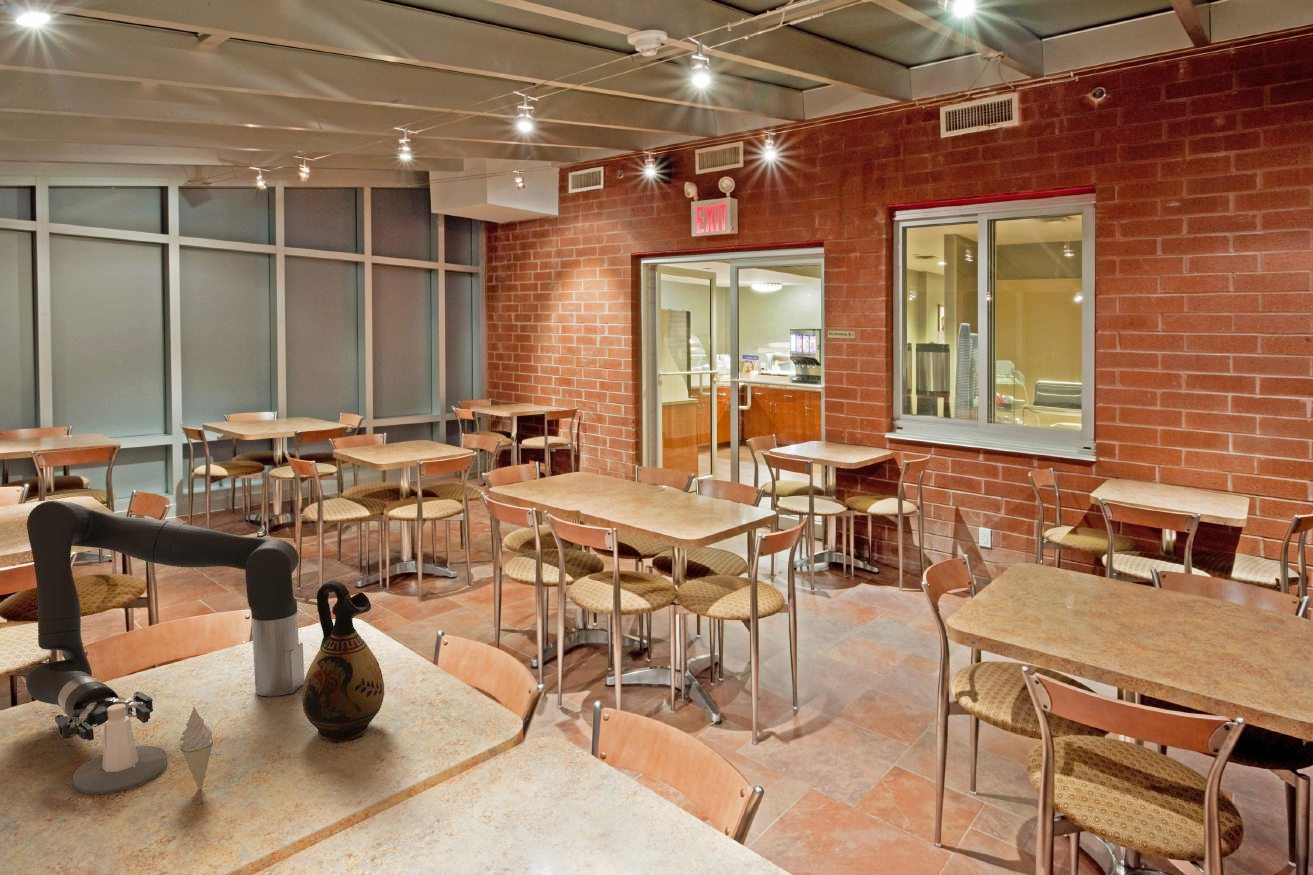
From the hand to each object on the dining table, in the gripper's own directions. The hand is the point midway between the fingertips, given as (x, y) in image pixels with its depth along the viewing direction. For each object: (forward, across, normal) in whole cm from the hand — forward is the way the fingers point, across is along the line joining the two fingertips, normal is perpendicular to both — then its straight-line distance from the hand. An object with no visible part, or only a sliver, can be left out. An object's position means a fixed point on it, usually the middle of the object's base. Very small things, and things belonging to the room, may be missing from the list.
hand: (119, 725), depth 143 cm
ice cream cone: (+16, +6, +9) cm, 20 cm away
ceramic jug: (+15, +34, +9) cm, 38 cm away
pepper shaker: (0, 0, +8) cm, 8 cm away
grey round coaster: (0, 0, +9) cm, 9 cm away
